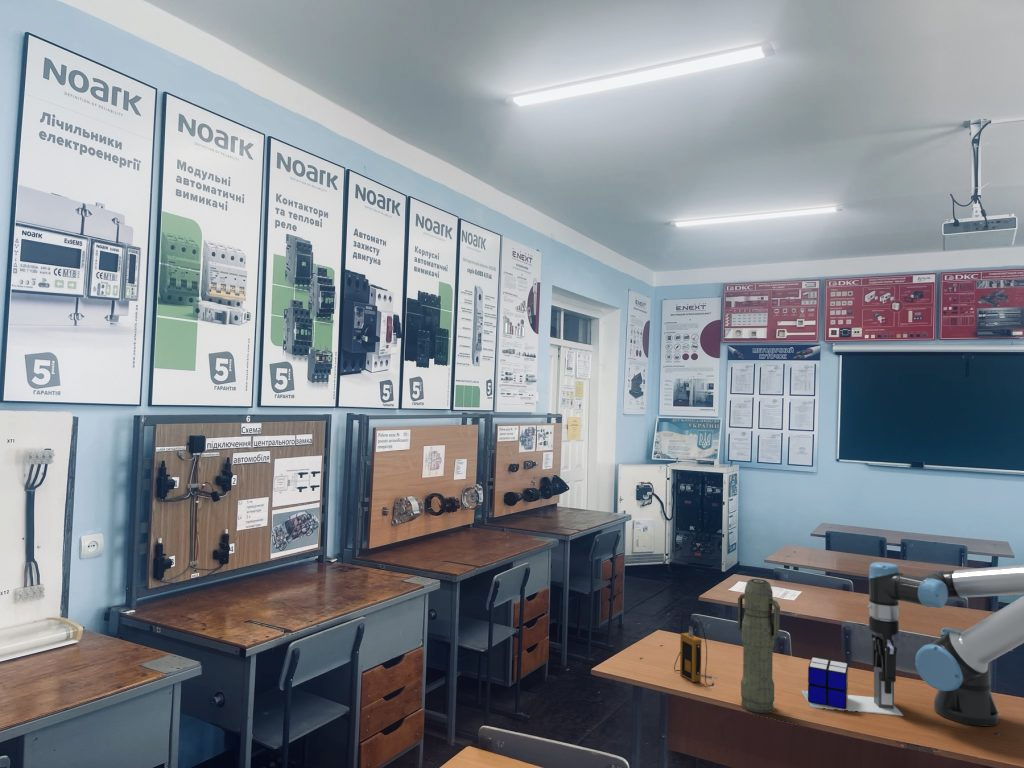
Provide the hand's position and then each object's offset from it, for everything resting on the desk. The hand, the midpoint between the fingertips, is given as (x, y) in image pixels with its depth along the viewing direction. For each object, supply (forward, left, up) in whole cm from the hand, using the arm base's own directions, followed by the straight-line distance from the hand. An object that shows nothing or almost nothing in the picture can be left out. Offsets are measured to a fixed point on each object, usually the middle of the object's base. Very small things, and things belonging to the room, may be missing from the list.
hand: (883, 700), depth 202 cm
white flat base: (+9, 0, -2) cm, 9 cm away
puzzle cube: (+15, 0, -1) cm, 15 cm away
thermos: (+36, +9, -2) cm, 37 cm away
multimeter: (+50, -11, -2) cm, 51 cm away
